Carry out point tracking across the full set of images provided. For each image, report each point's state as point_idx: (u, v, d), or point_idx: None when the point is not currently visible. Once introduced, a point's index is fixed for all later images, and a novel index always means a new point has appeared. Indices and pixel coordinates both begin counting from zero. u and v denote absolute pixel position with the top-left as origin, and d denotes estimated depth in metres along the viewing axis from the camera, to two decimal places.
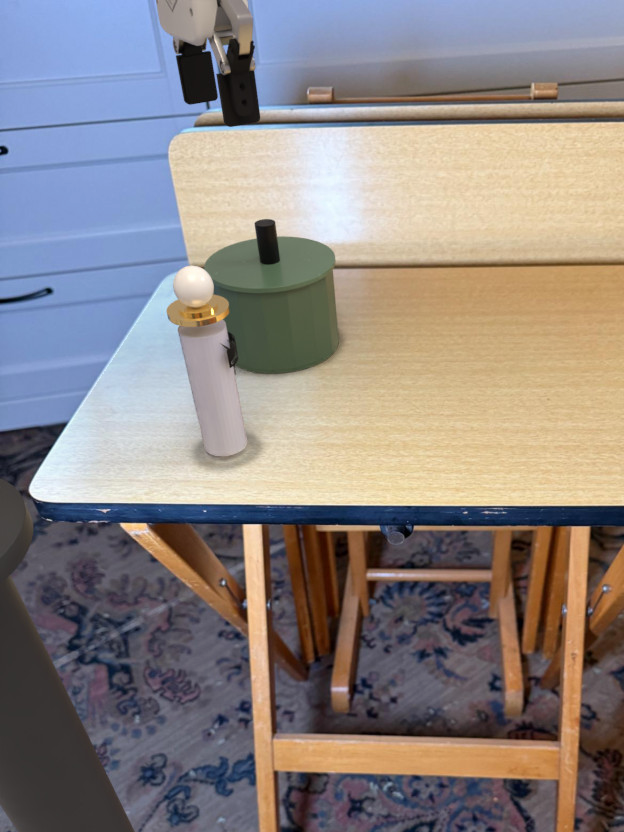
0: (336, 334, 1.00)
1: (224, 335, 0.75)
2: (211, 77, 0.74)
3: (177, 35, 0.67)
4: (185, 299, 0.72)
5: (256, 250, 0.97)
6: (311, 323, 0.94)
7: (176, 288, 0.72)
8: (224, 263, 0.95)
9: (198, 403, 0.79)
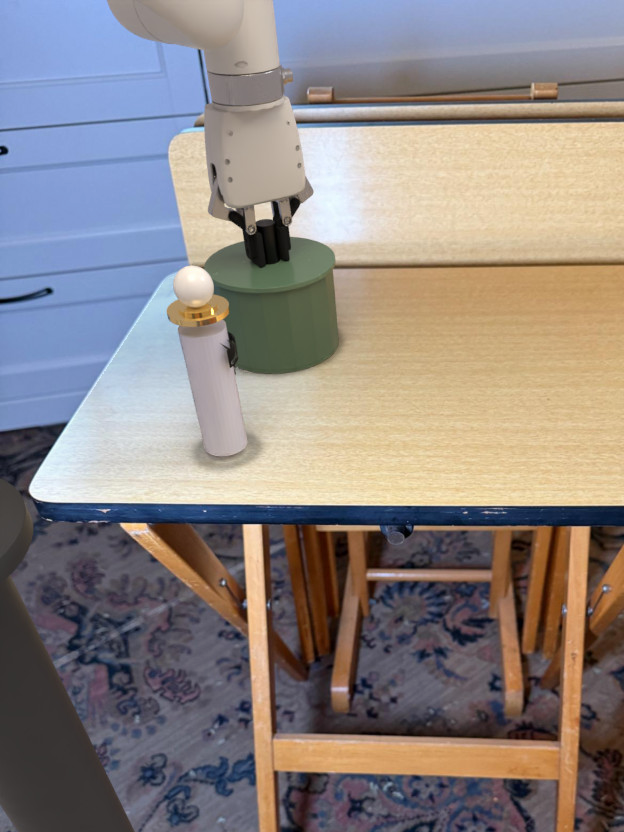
0: (336, 334, 1.00)
1: (224, 335, 0.75)
2: (281, 245, 0.93)
3: None
4: (185, 299, 0.72)
5: None
6: (311, 323, 0.94)
7: (176, 288, 0.72)
8: (224, 263, 0.95)
9: (198, 403, 0.79)
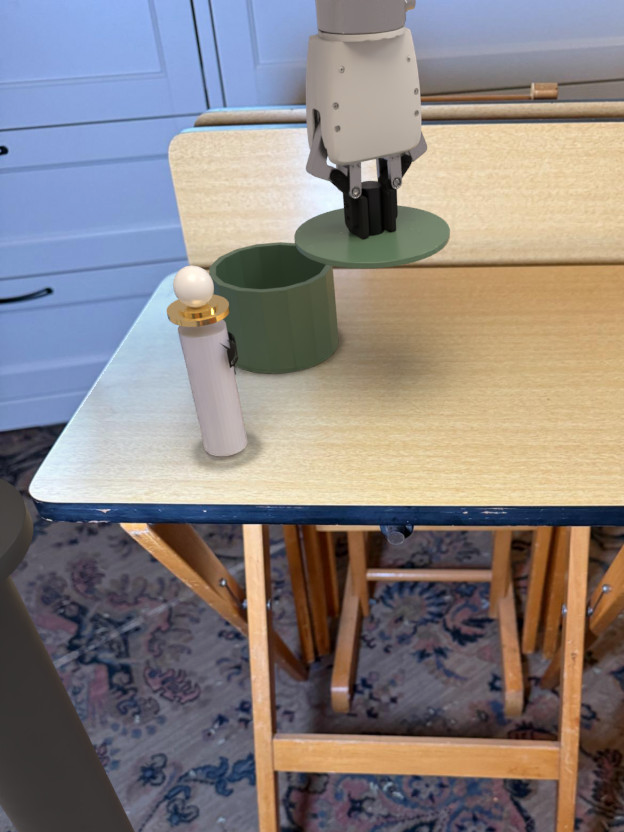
0: (336, 334, 1.00)
1: (224, 335, 0.75)
2: (387, 212, 0.78)
3: None
4: (185, 299, 0.72)
5: None
6: (311, 323, 0.94)
7: (176, 288, 0.72)
8: (317, 234, 0.79)
9: (198, 403, 0.79)
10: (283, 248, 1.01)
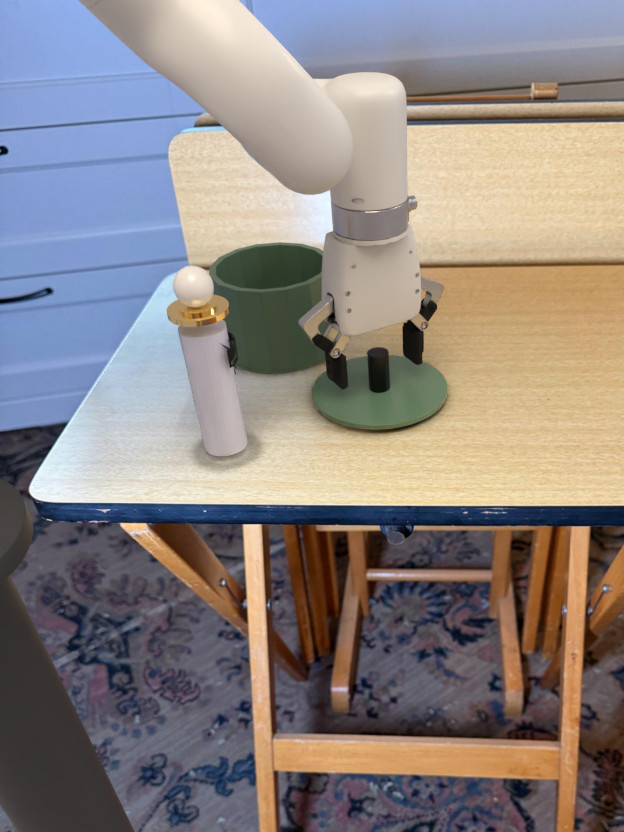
0: None
1: (224, 335, 0.75)
2: (415, 349, 0.89)
3: None
4: (185, 299, 0.72)
5: (362, 373, 0.94)
6: None
7: (176, 288, 0.72)
8: (332, 390, 0.91)
9: (198, 403, 0.79)
10: (283, 248, 1.01)
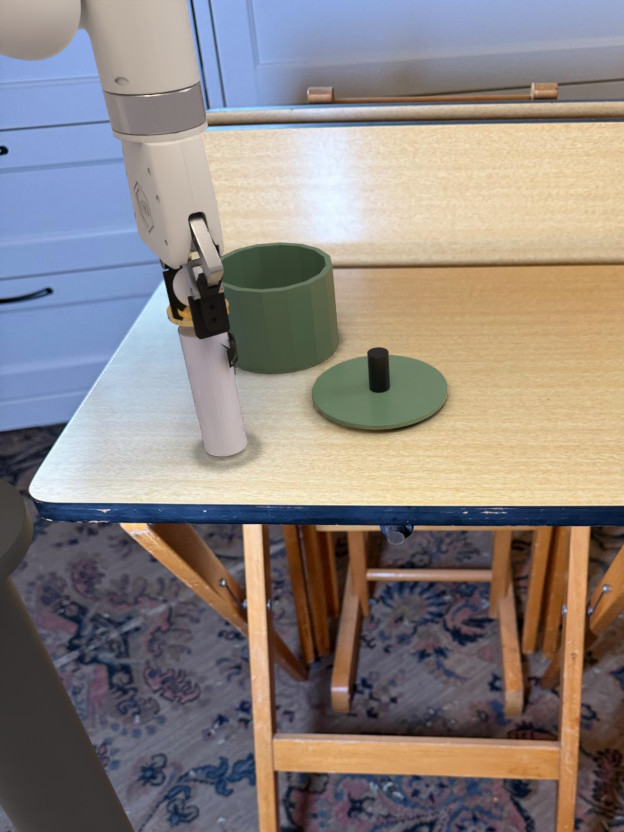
0: (336, 334, 1.00)
1: (224, 335, 0.75)
2: None
3: (154, 252, 0.69)
4: (185, 299, 0.72)
5: (362, 373, 0.94)
6: (311, 323, 0.94)
7: (176, 288, 0.72)
8: (332, 390, 0.91)
9: (198, 403, 0.79)
10: (283, 248, 1.01)
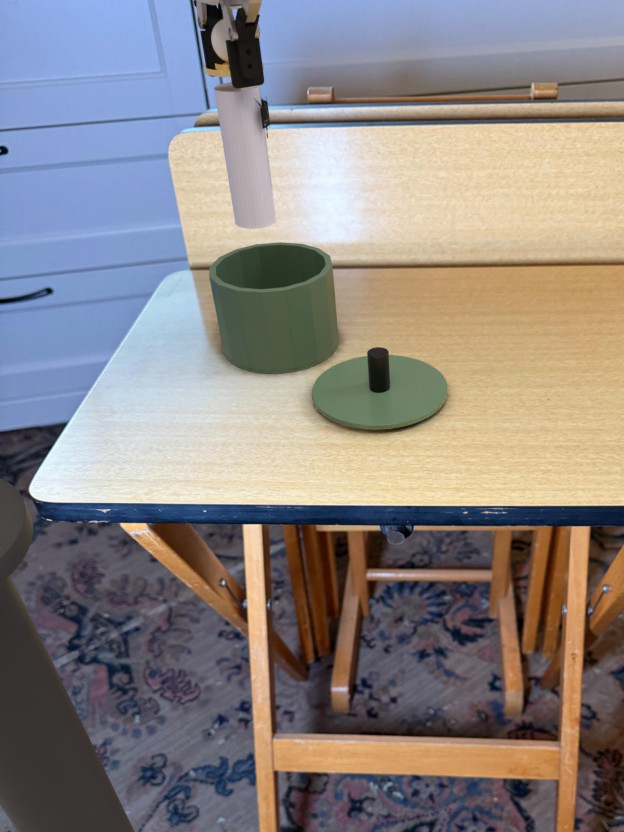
0: (336, 334, 1.00)
1: (258, 94, 0.80)
2: None
3: None
4: (222, 49, 0.76)
5: (362, 373, 0.94)
6: (311, 323, 0.94)
7: (214, 38, 0.76)
8: (332, 390, 0.91)
9: (231, 169, 0.84)
10: (283, 248, 1.01)
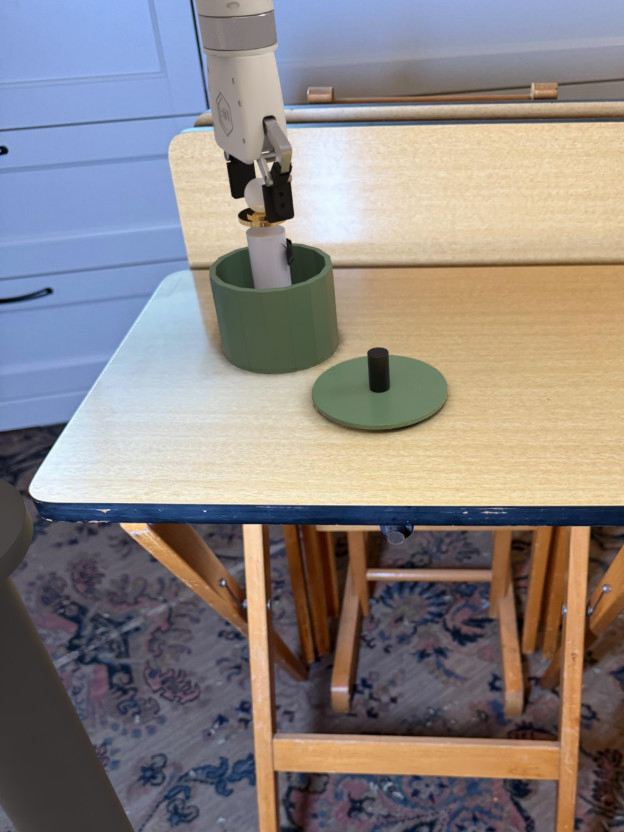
0: (336, 334, 1.00)
1: (284, 237, 0.92)
2: (253, 178, 0.93)
3: (230, 153, 0.86)
4: (254, 204, 0.89)
5: (362, 373, 0.94)
6: (311, 323, 0.94)
7: (247, 195, 0.89)
8: (332, 390, 0.91)
9: None
10: None
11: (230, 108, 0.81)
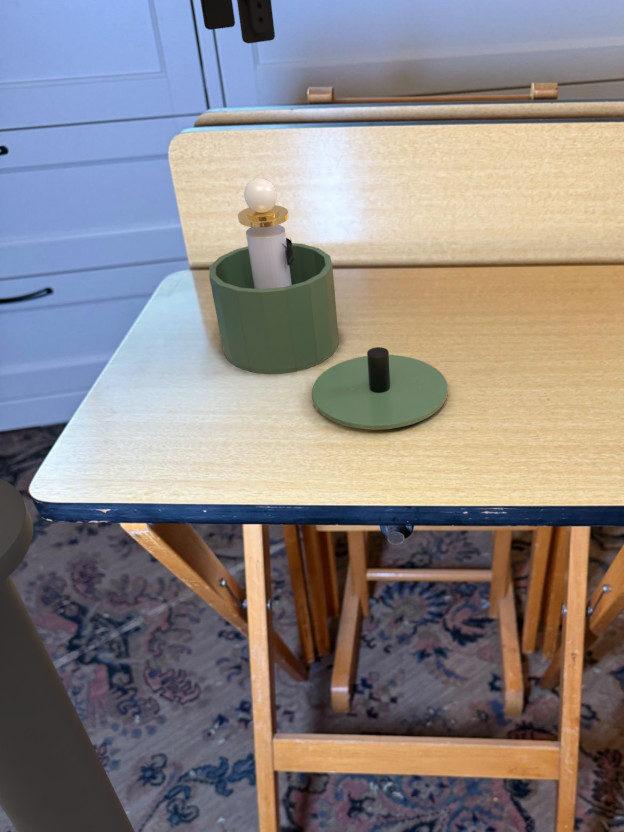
0: (336, 334, 1.00)
1: (284, 237, 0.92)
2: (229, 4, 0.82)
3: None
4: (254, 204, 0.89)
5: (362, 373, 0.94)
6: (311, 323, 0.94)
7: (247, 195, 0.89)
8: (332, 390, 0.91)
9: None
10: None
11: None
